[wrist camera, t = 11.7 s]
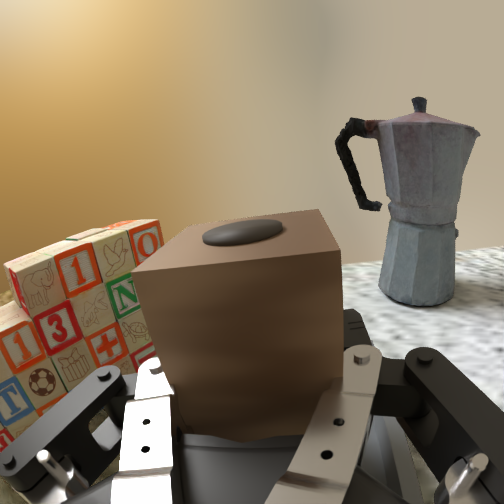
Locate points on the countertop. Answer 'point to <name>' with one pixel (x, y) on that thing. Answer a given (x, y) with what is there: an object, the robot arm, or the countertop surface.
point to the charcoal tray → (392, 459)
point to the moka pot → (415, 198)
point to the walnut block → (247, 321)
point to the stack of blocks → (71, 318)
